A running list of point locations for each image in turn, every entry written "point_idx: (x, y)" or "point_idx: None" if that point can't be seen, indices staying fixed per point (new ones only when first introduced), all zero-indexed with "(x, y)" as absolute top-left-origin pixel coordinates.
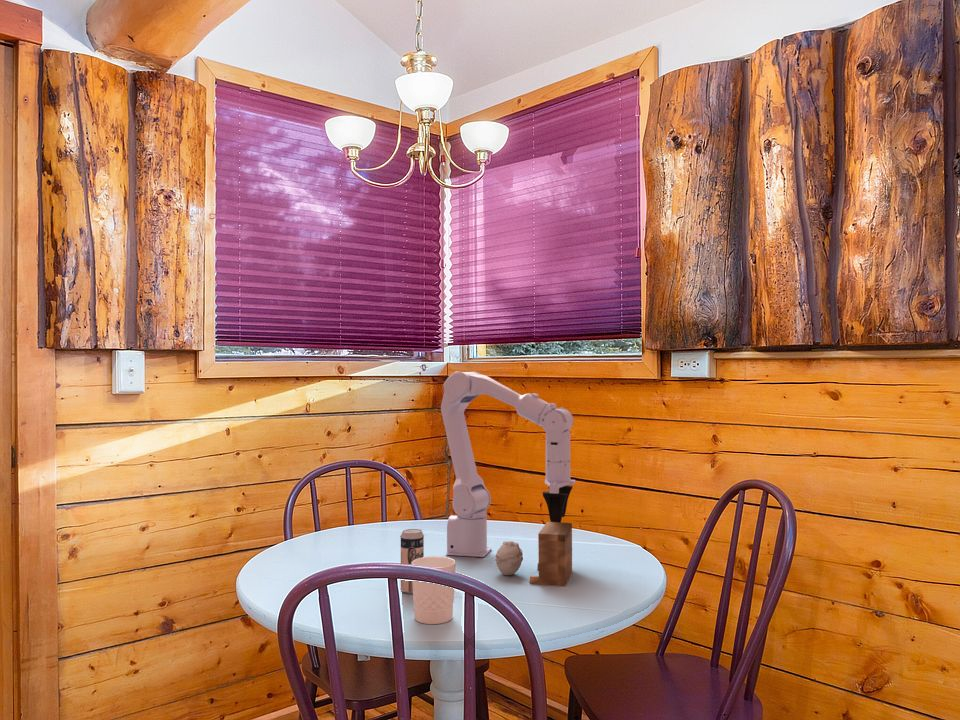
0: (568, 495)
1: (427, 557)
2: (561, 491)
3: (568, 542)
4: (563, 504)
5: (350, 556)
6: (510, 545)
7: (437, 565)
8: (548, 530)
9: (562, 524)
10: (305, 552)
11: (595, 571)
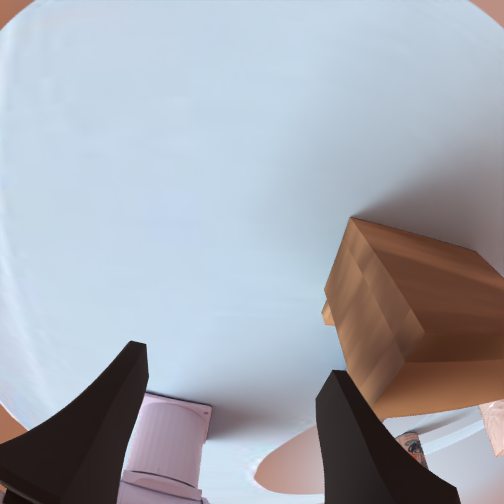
0: (88, 452)
1: (497, 454)
2: (96, 496)
3: (486, 301)
4: (414, 458)
5: (227, 488)
6: (382, 420)
7: (500, 440)
8: (494, 387)
9: (440, 367)
10: (216, 500)
11: (362, 137)
